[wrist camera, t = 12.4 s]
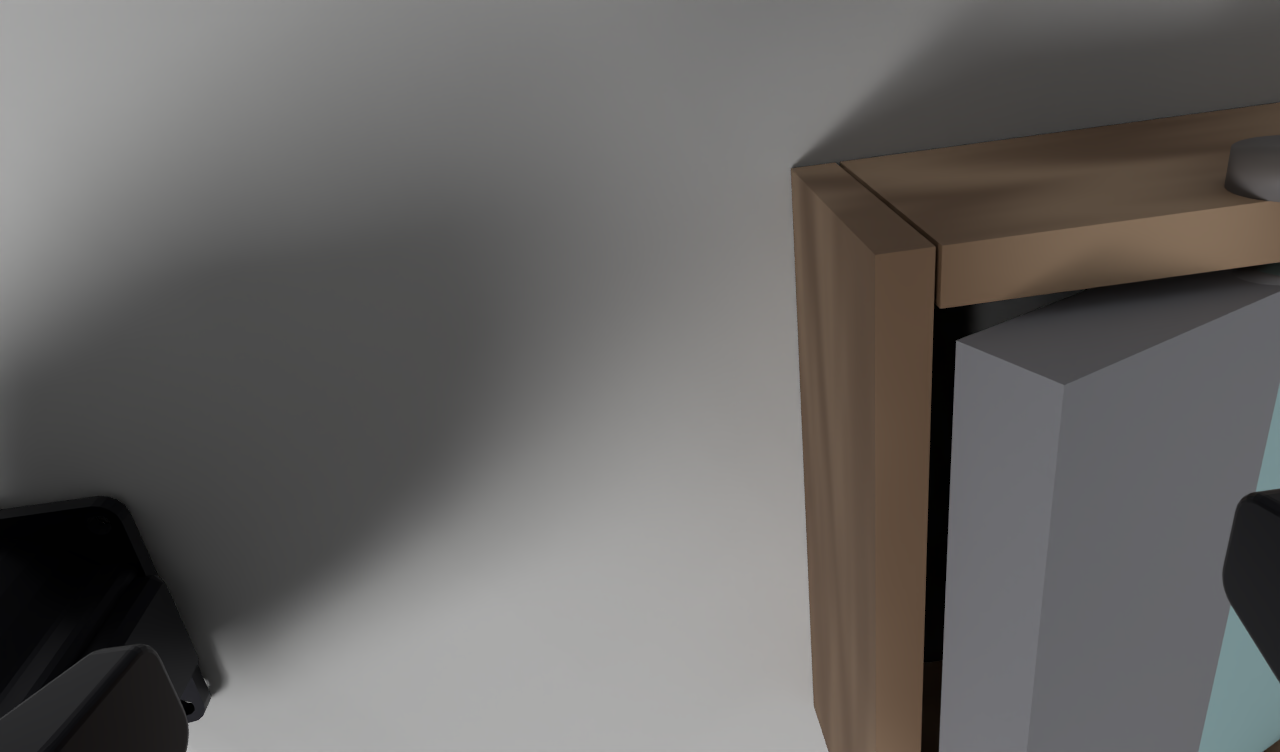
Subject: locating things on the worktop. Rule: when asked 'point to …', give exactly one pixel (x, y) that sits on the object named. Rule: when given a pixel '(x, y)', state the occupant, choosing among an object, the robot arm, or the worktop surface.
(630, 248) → the worktop surface
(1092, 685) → the trapdoor flap
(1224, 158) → the walnut stand
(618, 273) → the worktop surface
